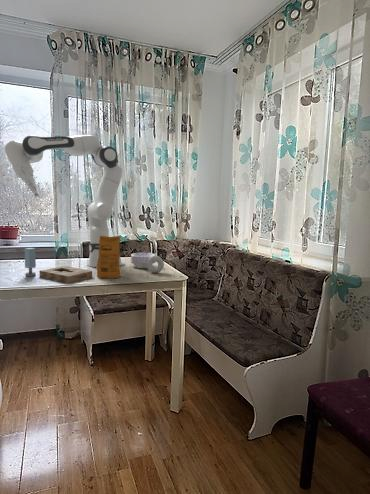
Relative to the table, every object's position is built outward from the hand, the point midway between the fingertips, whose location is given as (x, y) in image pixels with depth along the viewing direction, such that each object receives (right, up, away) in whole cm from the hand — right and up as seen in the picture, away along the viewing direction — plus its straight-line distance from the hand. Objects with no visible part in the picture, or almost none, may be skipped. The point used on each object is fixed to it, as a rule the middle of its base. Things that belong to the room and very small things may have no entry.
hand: (36, 194), depth 180 cm
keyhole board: (+18, -44, -5) cm, 48 cm away
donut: (+63, -43, +13) cm, 77 cm away
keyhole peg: (-1, -43, -5) cm, 43 cm away
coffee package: (+39, -44, 0) cm, 59 cm away
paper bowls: (+54, -41, +29) cm, 73 cm away
